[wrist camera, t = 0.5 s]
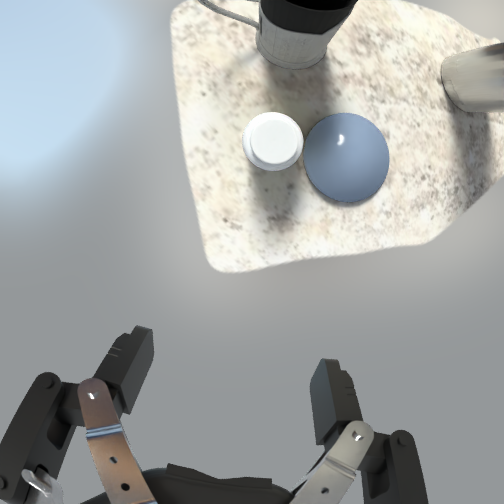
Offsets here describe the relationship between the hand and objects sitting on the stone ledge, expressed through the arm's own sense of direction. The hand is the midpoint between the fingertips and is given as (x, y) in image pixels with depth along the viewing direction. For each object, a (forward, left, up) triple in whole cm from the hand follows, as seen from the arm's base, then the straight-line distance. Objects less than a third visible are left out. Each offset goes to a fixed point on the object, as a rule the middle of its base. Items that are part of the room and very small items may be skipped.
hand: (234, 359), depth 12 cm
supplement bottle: (-8, -6, -24) cm, 26 cm away
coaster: (-14, +1, -24) cm, 28 cm away
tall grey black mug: (-17, -17, -24) cm, 34 cm away
